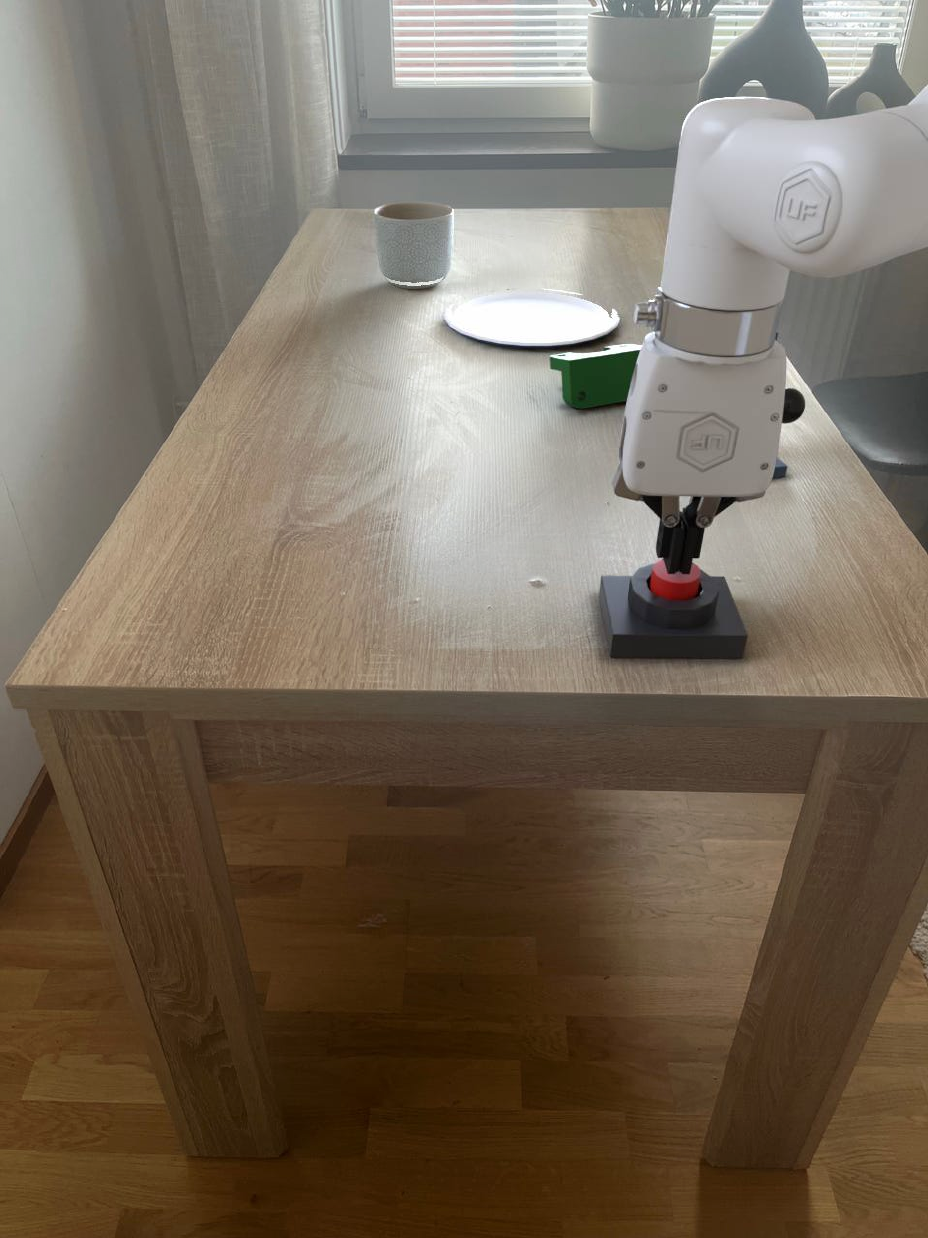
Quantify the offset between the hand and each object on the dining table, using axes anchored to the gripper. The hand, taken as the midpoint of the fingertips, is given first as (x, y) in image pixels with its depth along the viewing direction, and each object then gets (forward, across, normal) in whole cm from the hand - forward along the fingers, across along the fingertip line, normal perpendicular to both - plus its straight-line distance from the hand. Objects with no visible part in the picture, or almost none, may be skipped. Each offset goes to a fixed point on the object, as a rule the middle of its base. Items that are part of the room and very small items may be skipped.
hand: (675, 563), depth 69 cm
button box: (+6, 0, 0) cm, 6 cm away
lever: (-4, +12, +25) cm, 28 cm away
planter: (+7, -25, +92) cm, 95 cm away
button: (+2, 0, 0) cm, 2 cm away
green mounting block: (+6, 0, +46) cm, 47 cm away
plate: (+6, -7, +73) cm, 73 cm away
